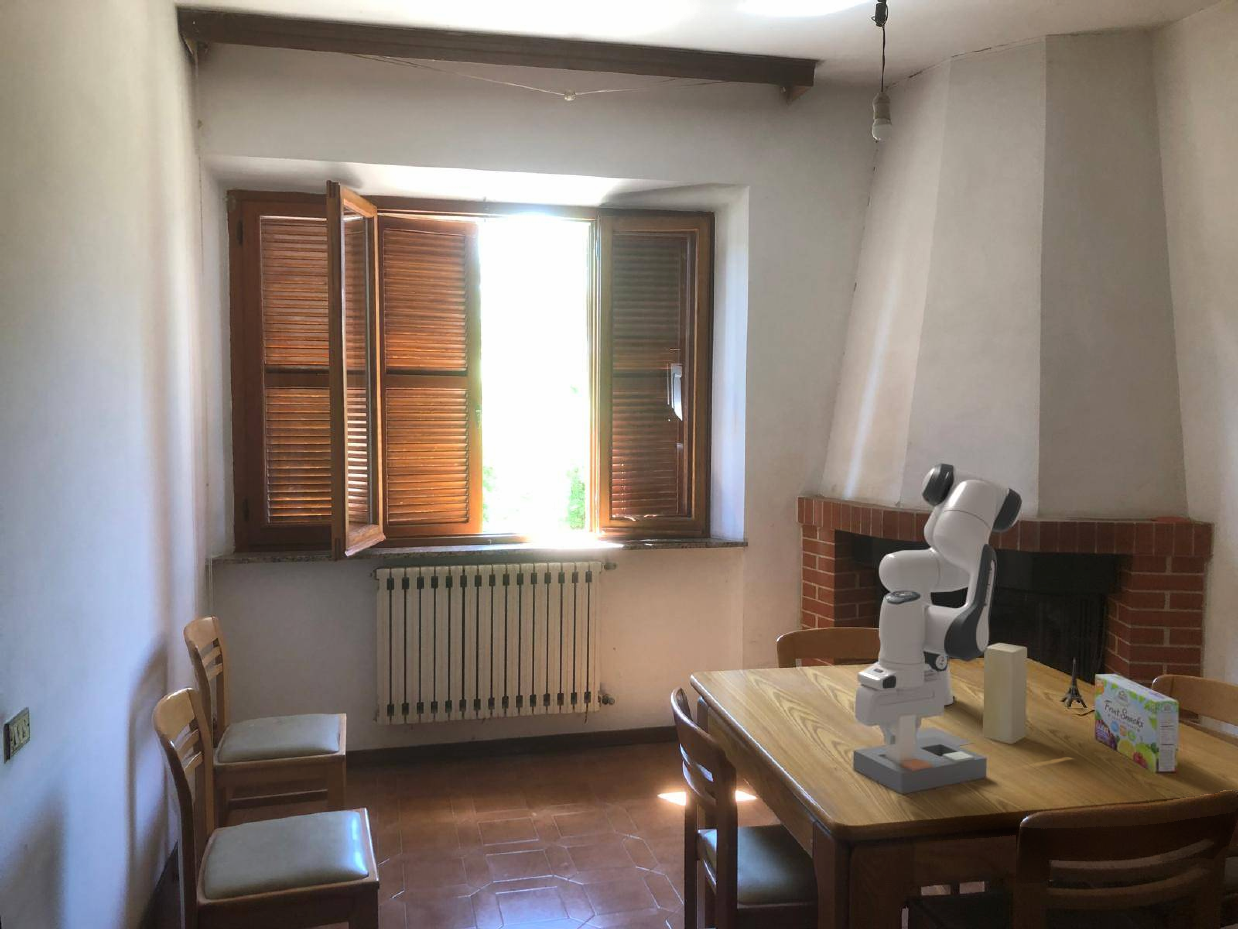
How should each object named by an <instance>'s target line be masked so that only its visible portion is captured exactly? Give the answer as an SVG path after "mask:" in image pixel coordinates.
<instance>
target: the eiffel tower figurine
mask: <svg viewBox="0 0 1238 929" xmlns="http://www.w3.org/2000/svg"><path fill="white" fill-rule="evenodd" d="M1072 662H1073V664H1072V666H1073V667H1072V675H1071V682H1070V684H1069V685H1070V686H1069V689H1068V690H1067V692H1065V695H1064V696H1063V697H1062V699H1060V700H1059V702H1066V701H1067V702H1068V703H1067V707H1068V708H1067V709H1070V708H1069V707H1071V704H1072V702H1074V701H1075V703H1076V702H1078V703H1081V704H1082V705H1083V707H1084V708H1087V706H1086V705H1085V703H1084V701H1085V700H1084V699H1083V698H1082V694H1080V691H1079V686H1078V682H1077V666H1076V665H1077V664H1076V663H1077V660H1076V658H1074V659H1073V661H1072ZM1091 705H1093V704H1091Z"/></svg>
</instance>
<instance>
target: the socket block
mask: <svg viewBox="0 0 1238 929" xmlns="http://www.w3.org/2000/svg"><path fill="white" fill-rule="evenodd" d="M885 748H886V744H883V745H878V746H877V745H876V746H871V747H865V748H858V749H853V757H852V758H853V764H852V765H853V767H852V770H853V771H855V772H857V773H859V774H861V775H862V776H865V777H867V778H868V779H871V780H873V781H874V782H877V783H878V784H880V785H882V786H884V787H887V788H888V789H890V790H892V791H894V792H896V793H897V794H900V795H905V794H909V793H913V792H914V793H915V792H918V791H919V792H920V791H924V790H929V789H933V788H934V789H935V788H940V787H944V786H945V787H946V786H949V785H955V784H960V783H964V782H970V781H974V780H979V779H985V778H987V763H988V762H987V761H988V759H987V757H986V756H984V755H981V754H978V753H976V752H974V751H972V750H969V749H966V748H965V747H962V746H957V745H955V744H953V743H950V742H948V741H945V740H943V739H941V738H938V737H936V736H935V737H929V738H923V739H917V740H915V760H910V761H904V762H900V764H895V763H893V762H891V761H889V760H887V759H885Z"/></svg>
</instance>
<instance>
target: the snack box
mask: <svg viewBox="0 0 1238 929" xmlns="http://www.w3.org/2000/svg"><path fill="white" fill-rule="evenodd" d="M1094 675H1095V676H1094V703H1095V711H1094V739H1095V740H1097V741H1099V742H1100V741H1101V742H1100V743H1102V744H1104V745H1106V746H1108V747H1109V748H1111V749H1113V750H1114V749H1115V750H1114V751H1116V752H1118V753H1120V754H1121V753H1122V754H1121V755H1123V756H1125V757H1126V756H1127V758H1128V759H1130V760H1131V761H1133V760H1134V762H1136V763H1137V764H1138V765H1140V766H1143V767H1144V768H1146V769H1147V770H1149V771H1151V772H1152V773H1155V774H1158V773H1160V774H1161V773H1162V774H1163V773H1178V766H1179V765H1178V763H1179V762H1178V761H1179V760H1178V758H1179V756H1178V755H1179V750H1178V749H1179V714H1180V713H1179V707H1180V702H1179V701H1178V700H1177V699H1174V698H1172V697H1169V696H1167V695H1165V694H1163V693H1160V692H1158V691H1155V690H1153V689H1151V688H1149V687H1147V686H1144V685H1141V683H1140V684H1139V683H1137V682H1135V681H1132V680H1130V679H1128V678H1126V677H1123V676H1121V675H1118V674H1116V673H1105V674H1094Z"/></svg>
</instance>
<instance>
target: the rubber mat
mask: <svg viewBox="0 0 1238 929" xmlns="http://www.w3.org/2000/svg"><path fill="white" fill-rule="evenodd" d="M935 736H936V737H938V738H941V739H943V740H945V741H948V742H950V743H953V744H955V745H957V746H960V747H962V746H965V745H966V746H967V745H971V744H974V743H973V742H971V741H969V740H966V739H964V738H961V737H958V735H957V736H956V735H953V734H951V733H950V732H946V731H944V730H941V729H939V728H936V727H927V728H922V729H920V728H919V729H918V731H917V732H916V740H917V739H923V738H929V737H935Z"/></svg>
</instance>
